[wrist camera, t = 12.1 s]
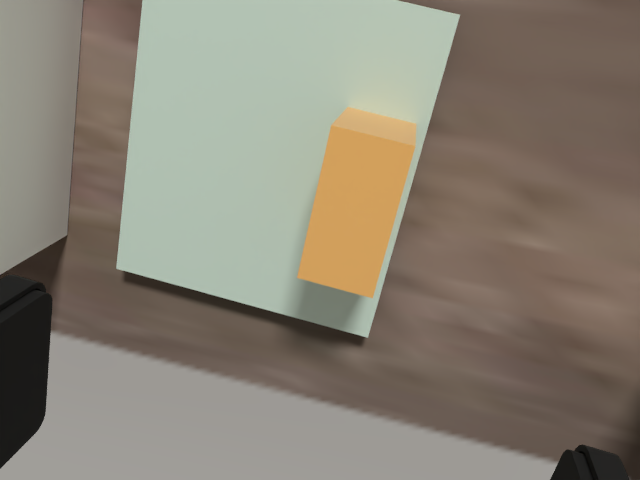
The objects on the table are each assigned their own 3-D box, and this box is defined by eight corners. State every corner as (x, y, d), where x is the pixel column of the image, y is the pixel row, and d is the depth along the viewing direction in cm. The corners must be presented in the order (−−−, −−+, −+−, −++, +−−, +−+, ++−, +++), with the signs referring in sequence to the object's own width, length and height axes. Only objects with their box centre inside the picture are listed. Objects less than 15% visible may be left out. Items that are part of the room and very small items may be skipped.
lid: (457, 15, 25) (469, 12, 19) (370, 322, 30) (357, 397, 24) (164, -53, 26) (83, -78, 20) (130, 257, 31) (59, 313, 25)
